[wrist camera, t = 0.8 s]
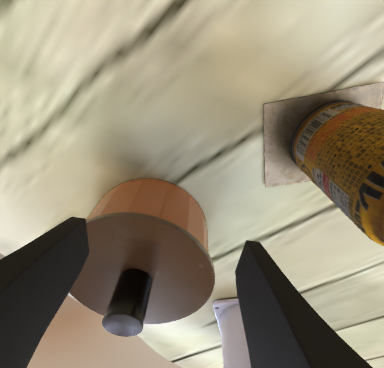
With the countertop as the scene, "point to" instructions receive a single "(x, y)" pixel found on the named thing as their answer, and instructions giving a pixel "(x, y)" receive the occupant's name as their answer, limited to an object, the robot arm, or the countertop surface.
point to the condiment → (332, 150)
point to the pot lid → (142, 272)
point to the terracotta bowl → (156, 204)
